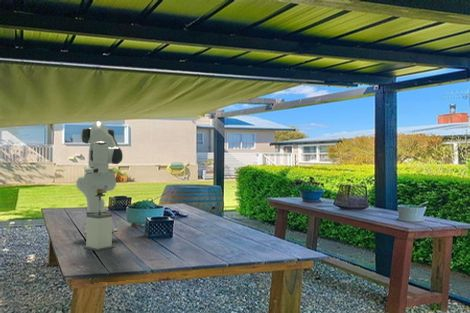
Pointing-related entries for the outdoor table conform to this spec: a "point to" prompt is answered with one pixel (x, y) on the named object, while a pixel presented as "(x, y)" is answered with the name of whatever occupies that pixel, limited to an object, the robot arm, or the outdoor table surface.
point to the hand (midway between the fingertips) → (100, 193)
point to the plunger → (100, 194)
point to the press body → (99, 232)
